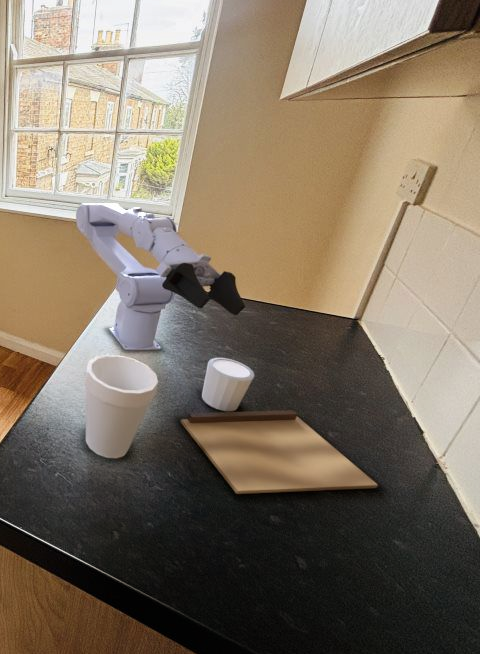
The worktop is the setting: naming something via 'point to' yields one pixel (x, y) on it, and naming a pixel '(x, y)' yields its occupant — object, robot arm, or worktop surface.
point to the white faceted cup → (226, 383)
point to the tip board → (272, 453)
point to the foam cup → (116, 402)
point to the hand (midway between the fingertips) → (222, 307)
